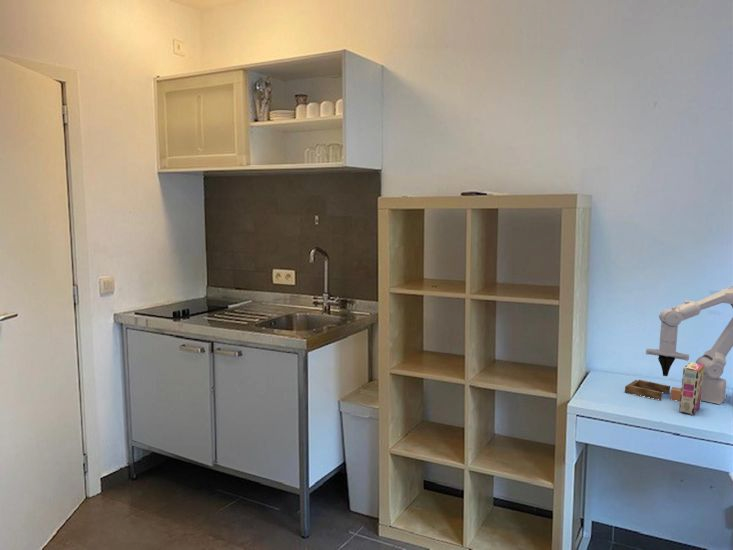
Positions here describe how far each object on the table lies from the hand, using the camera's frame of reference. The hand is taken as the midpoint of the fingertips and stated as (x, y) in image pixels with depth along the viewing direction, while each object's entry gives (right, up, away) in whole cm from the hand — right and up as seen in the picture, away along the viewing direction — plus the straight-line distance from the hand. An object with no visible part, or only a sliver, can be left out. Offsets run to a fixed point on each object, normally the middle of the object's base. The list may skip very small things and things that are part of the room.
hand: (665, 375), depth 226 cm
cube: (+4, -9, -2) cm, 10 cm away
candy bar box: (+2, -10, -13) cm, 17 cm away
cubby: (-4, -8, +5) cm, 10 cm away
